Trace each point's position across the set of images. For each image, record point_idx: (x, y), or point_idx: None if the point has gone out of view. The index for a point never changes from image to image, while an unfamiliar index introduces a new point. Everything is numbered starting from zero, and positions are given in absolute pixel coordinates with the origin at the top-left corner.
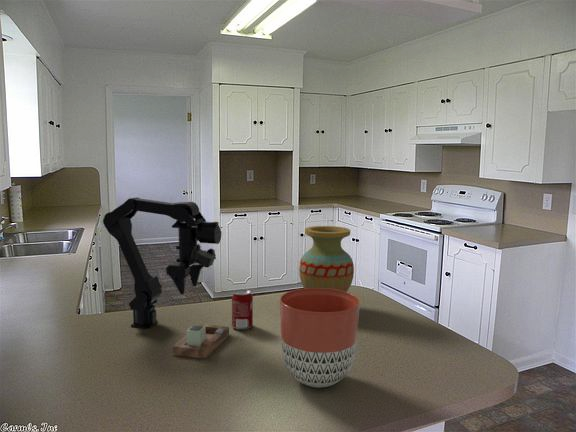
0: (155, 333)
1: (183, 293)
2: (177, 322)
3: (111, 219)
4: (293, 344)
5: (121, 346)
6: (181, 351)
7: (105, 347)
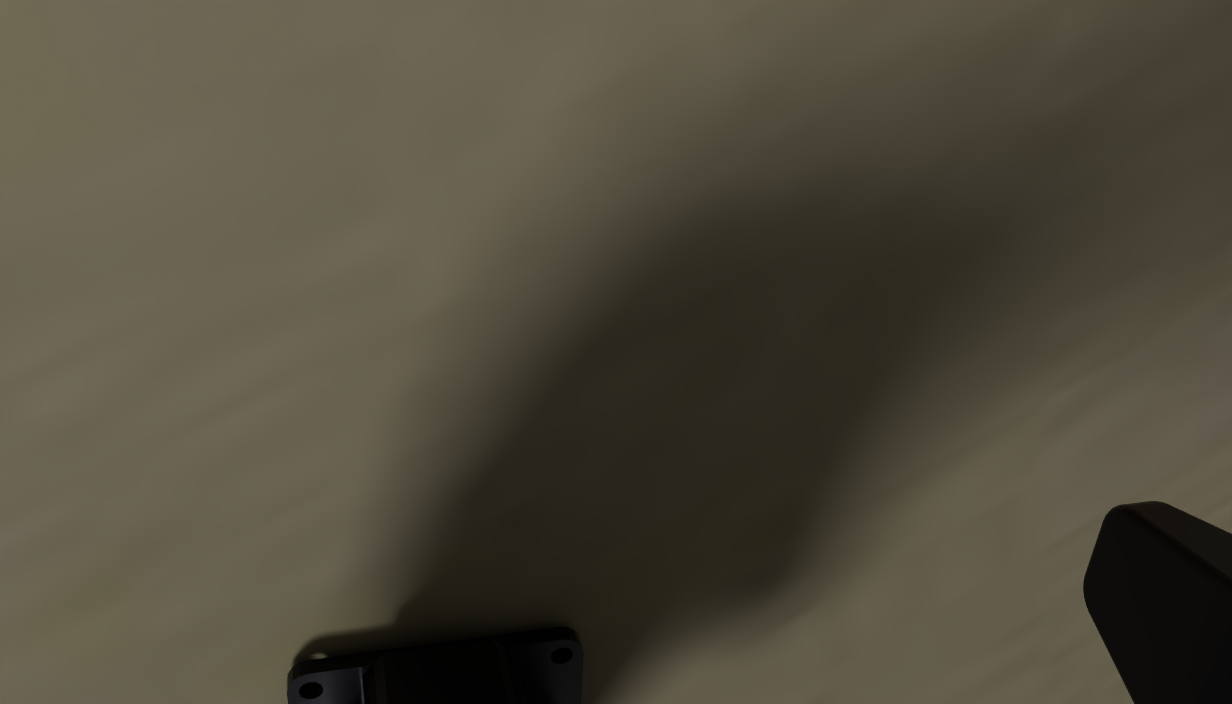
0: (712, 458)
1: (1184, 516)
2: (187, 413)
3: None
4: None
5: None
6: None
7: None
